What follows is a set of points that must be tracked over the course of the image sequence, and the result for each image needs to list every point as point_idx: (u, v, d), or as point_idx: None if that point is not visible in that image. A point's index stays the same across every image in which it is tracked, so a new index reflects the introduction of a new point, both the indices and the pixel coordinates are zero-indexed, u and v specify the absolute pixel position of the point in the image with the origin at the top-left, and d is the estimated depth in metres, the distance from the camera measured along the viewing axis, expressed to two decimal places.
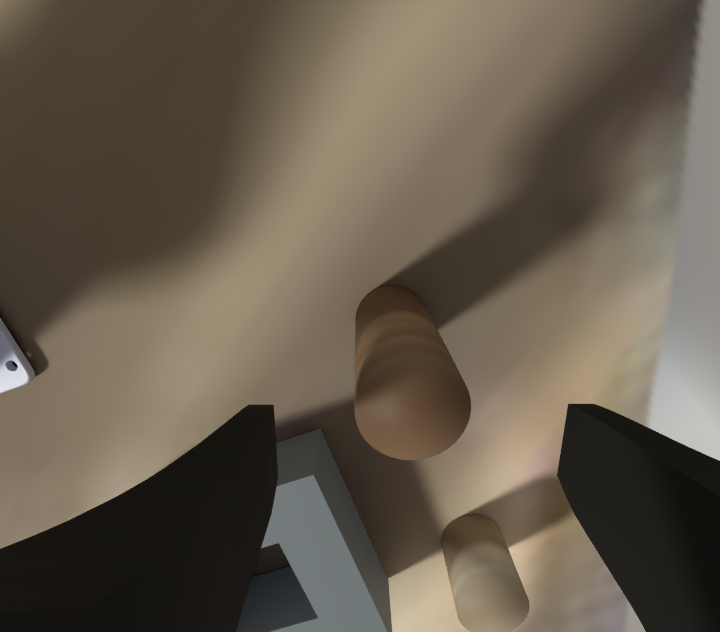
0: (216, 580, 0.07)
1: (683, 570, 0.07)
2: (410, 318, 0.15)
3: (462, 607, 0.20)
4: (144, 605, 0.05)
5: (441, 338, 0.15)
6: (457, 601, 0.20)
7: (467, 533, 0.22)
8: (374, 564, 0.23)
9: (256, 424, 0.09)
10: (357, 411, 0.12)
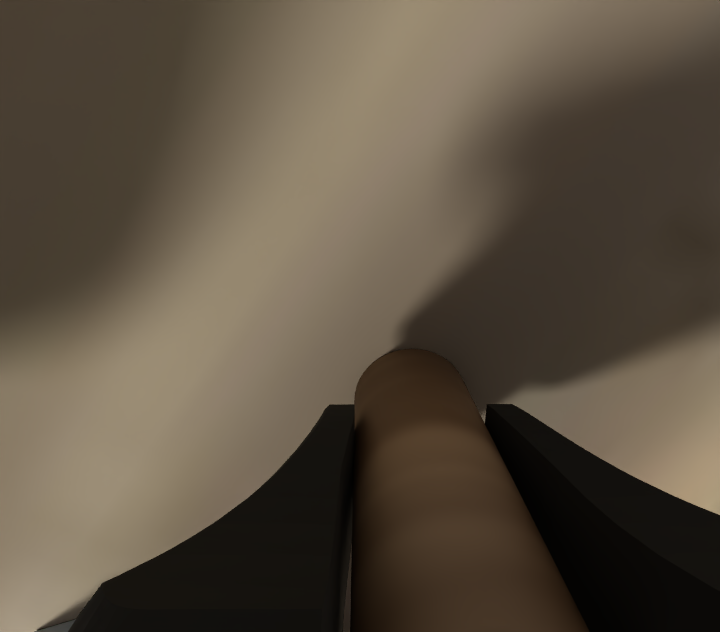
0: (339, 580, 0.07)
1: (561, 570, 0.07)
2: (457, 450, 0.08)
3: None
4: (330, 604, 0.05)
5: (515, 486, 0.08)
6: None
7: None
8: None
9: (351, 424, 0.09)
10: None
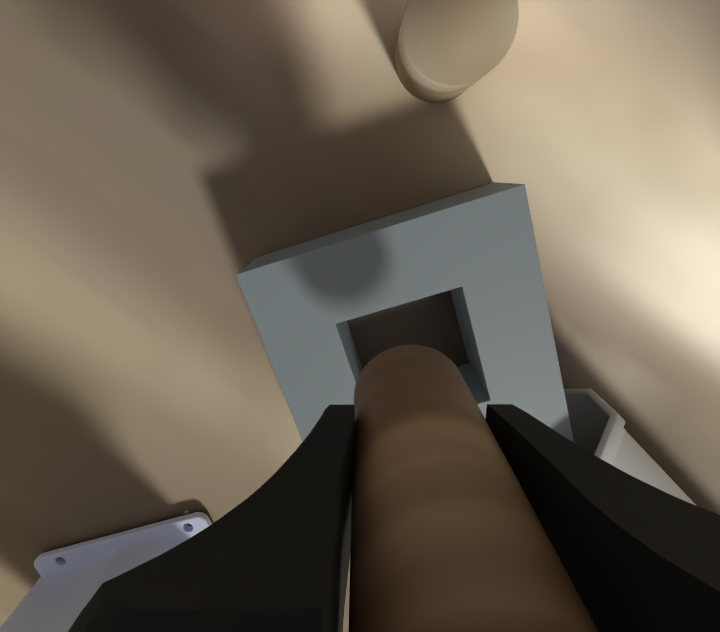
0: (339, 580, 0.07)
1: None
2: (451, 439, 0.08)
3: (452, 73, 0.13)
4: (330, 605, 0.05)
5: (511, 471, 0.08)
6: (444, 81, 0.13)
7: (399, 63, 0.15)
8: (441, 202, 0.17)
9: (350, 424, 0.09)
10: None
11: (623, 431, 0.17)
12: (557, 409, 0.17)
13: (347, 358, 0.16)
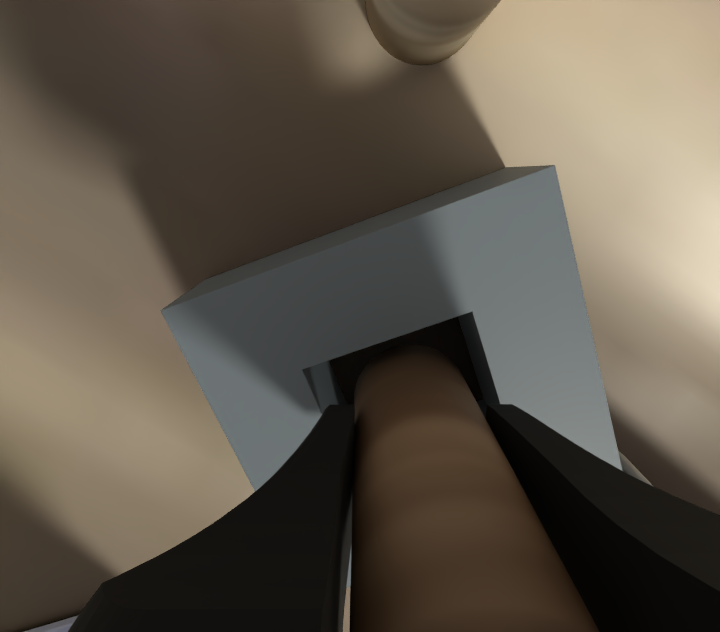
0: (339, 580, 0.07)
1: None
2: (452, 439, 0.08)
3: (444, 4, 0.09)
4: (330, 604, 0.05)
5: (512, 471, 0.08)
6: (433, 19, 0.09)
7: (371, 8, 0.11)
8: (438, 196, 0.13)
9: (351, 423, 0.09)
10: None
11: None
12: None
13: (321, 413, 0.12)
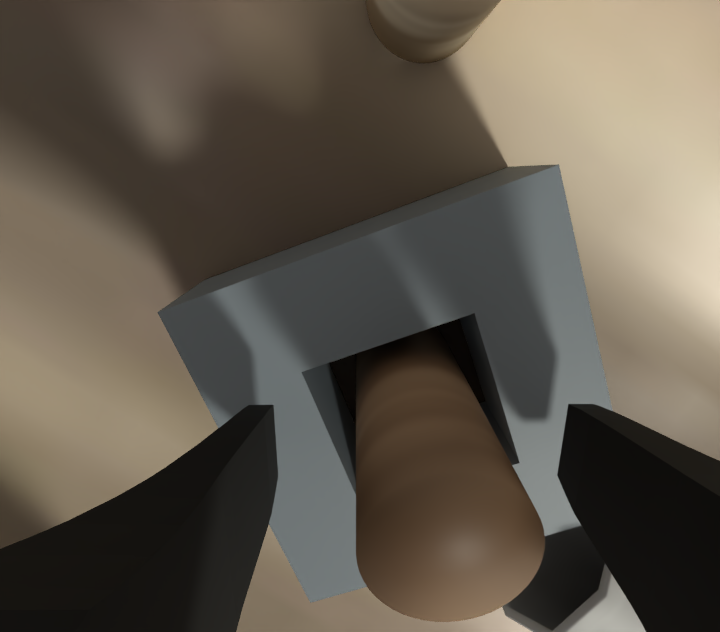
0: (216, 580, 0.07)
1: (683, 570, 0.07)
2: (433, 381, 0.10)
3: (446, 0, 0.09)
4: (144, 605, 0.05)
5: (479, 406, 0.10)
6: (435, 15, 0.09)
7: (371, 5, 0.11)
8: (439, 196, 0.12)
9: (256, 424, 0.09)
10: (361, 557, 0.08)
11: None
12: None
13: (321, 416, 0.12)
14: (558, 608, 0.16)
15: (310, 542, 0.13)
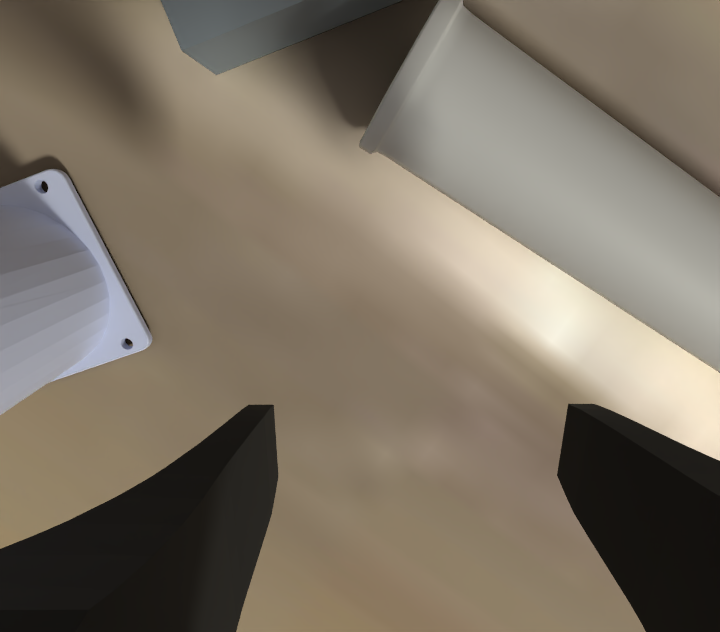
0: (216, 580, 0.07)
1: (683, 570, 0.07)
2: None
3: None
4: (144, 605, 0.05)
5: None
6: None
7: None
8: None
9: (257, 424, 0.09)
10: None
11: (466, 11, 0.13)
12: None
13: None
14: None
15: None
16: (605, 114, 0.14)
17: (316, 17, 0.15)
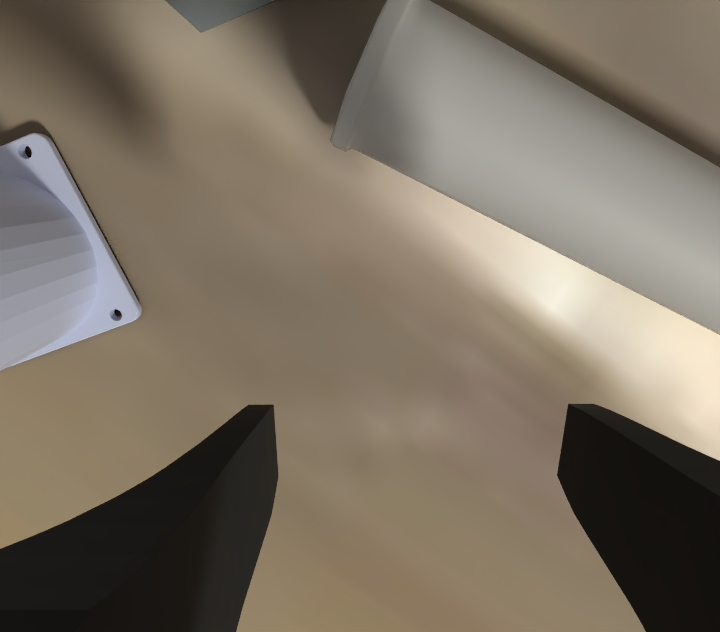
0: (216, 580, 0.07)
1: (683, 570, 0.07)
2: None
3: None
4: (144, 605, 0.05)
5: None
6: None
7: None
8: None
9: (256, 424, 0.09)
10: None
11: None
12: None
13: None
14: None
15: None
16: (576, 86, 0.14)
17: None
